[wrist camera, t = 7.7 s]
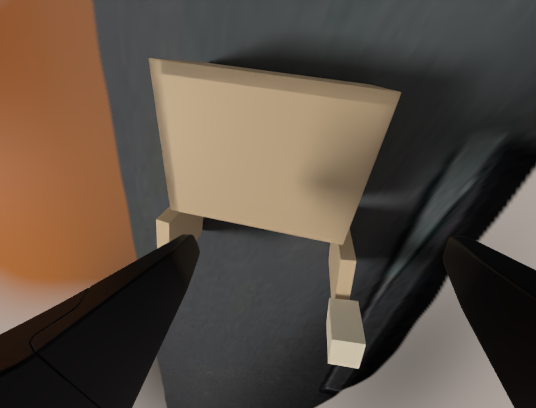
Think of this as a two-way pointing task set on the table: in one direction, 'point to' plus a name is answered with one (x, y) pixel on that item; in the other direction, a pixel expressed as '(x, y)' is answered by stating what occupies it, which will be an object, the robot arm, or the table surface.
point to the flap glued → (177, 226)
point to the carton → (268, 145)
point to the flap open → (343, 309)
